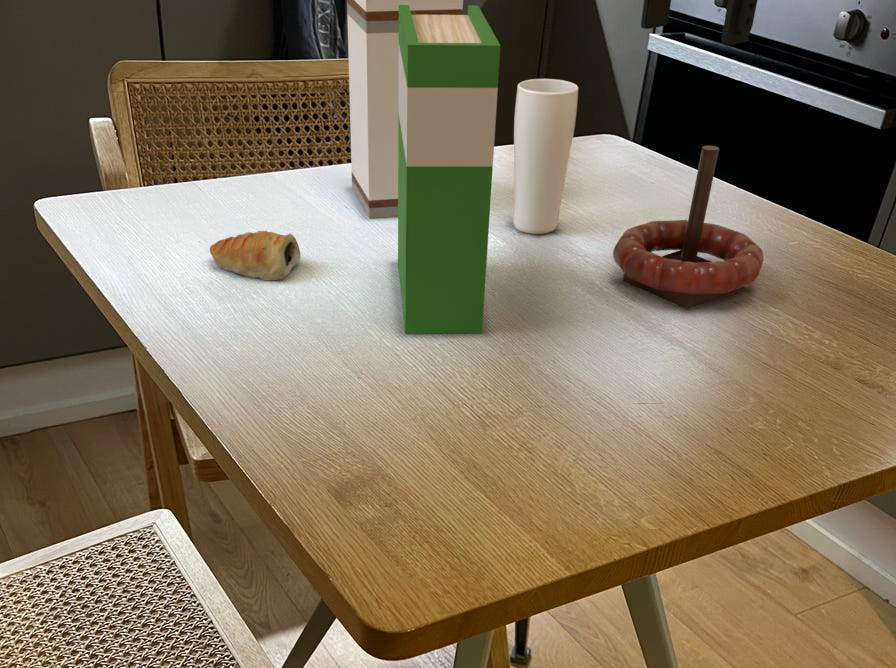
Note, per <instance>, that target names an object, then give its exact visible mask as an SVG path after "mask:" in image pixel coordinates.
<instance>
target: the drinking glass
mask: <svg viewBox="0 0 896 668" xmlns="http://www.w3.org/2000/svg"><path fill="white" fill-rule="evenodd" d="M578 100H579V86H578V85H577V84H576V83H574V82H572V81H567V80H563V79H557V78H556V79H555V78H533V79H527V80H526V79H525V80H523V81H521V82H519V83H518V84H517V87H516V95H515V105H514V118H513V215H512V224H513V227H514V228H515V229H516V230H518V231H520V232H522V233H525V234H530V235H531V234H532V235H545V234H548V233H552V232H553V231H555V230H556V229H557V227H558V225H559V219H560V211H561V204H562V198H563V192H564V187H565V182H566V177H567V172H568V166H569V160H570V157H571V150H572V145H573V141H574V134H575V129H576V123H577V122H576V121H577V112H578V102H579V101H578Z"/></svg>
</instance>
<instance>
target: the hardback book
mask: <svg viewBox="0 0 896 668" xmlns="http://www.w3.org/2000/svg"><path fill="white" fill-rule="evenodd" d="M500 58H501V44H500V42H499V40H498V38H497V37H496V35H495V34H494V32H493V29H492V27H491V26H490V25H489V23H488V21H487V18H486V17H485V15H484V13H483V12H482V10H481V8H480V6H479V5H478V4H477V5H475V4H474V5H473V4H472V5H471V4H469V5H467V14H463V15H411V12H410V8H409V5H399V85H398V217H397V267H398V277H399V287H400V296H401V297H400V298H401V305H402V306H401V307H402V314H403V324H404V334H405V335H409V334H410V335H411V334H412V335H413V334H414V335H415V334H416V335H417V334H418V335H419V334H422V335H423V334H424V335H426V334H483V327H484V326H483V325H484V308H485V292H486V276H487V263H488V262H487V261H488V247H489V246H488V245H489V231H490V218H491V217H490V215H491V213H490V212H491V201H492V184H493V171H494V169H493V168H494V152H495V140H496V139H495V137H496V122H497V121H496V120H497V108H498V107H497V106H498V90H499V75H500V61H501V59H500Z"/></svg>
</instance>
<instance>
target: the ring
mask: <svg viewBox="0 0 896 668" xmlns="http://www.w3.org/2000/svg"><path fill="white" fill-rule="evenodd" d="M687 223H688V219H673V220H653V221H649V222H646V223H642V224H638V225H636V226H633V227H629V228H628V229H626V230H625V231H624V232H623V233H622V235H620V237H619V239H618V240H617V242H616V244H615V245H614V247H613V251H612V256H613V258H612V259H613V260H614V262H615V263H616V265H617V266H618V267H619V269H620V270H621V271H622V273H623V274H624V273H625V275H626V276H627V277H629V278H630V279H632V280H635V281H637V282H640V283H642V284H645V285H647V286H649V287H652V288H654V289H657V290H663V291H669V292H675V293H682V294H688V295H703V294H723V293H729V292H731V291H734V290H736V289H739V288H742V287H744V286H745V287H747V286H750V285H752V284H754V282H756V280H757V279H758V278H759V276H760V273H761V270H762V266H763V264H764V261H765V260H764V258H765V257H764V256H765V254H764V251H763V250H762V248H761V247H760V246H759V245H757V244H756V242H754V241H753V240H752V239H751V238H749V236H748V235H746V234H745V233H743V232H740V231H737V230H734V229H731V228H729V227H725V226H723V225H719V224H716V223H711V222H708V223H707V222H704V225H703V230H702V235H701V240H700V244H699V249H698V254H699V253H700V254H706V255H709V256H712V257H715V258H717V259H720V260H723V261H712V262H703V263H694V262H688V261H681V260H674V259H667V258H665V257H662V256H663V255H659V254H657V253H654V252H661V251H662V252H663V251H664V252H665V251H679V250H682V249H683V244H684V239H685V233H686V228H687Z"/></svg>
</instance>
